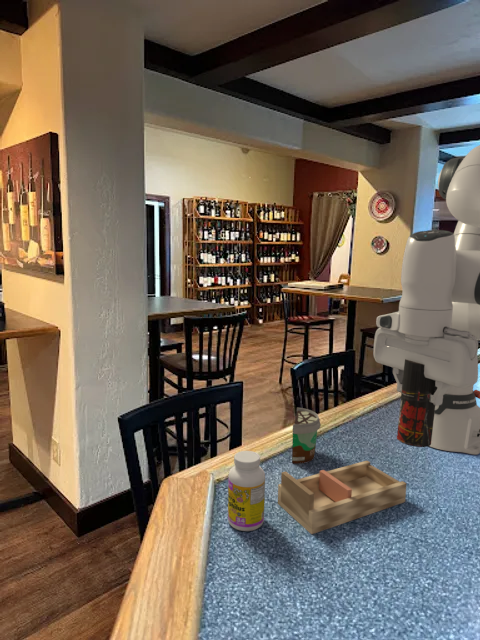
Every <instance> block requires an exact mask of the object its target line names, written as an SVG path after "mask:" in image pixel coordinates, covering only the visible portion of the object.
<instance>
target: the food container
mask: <svg viewBox="0 0 480 640" xmlns="http://www.w3.org/2000/svg"><path fill="white" fill-rule="evenodd" d="M321 425H322V424H321V419H320V417H319V415H318V413H316V412H315V411H313V410H311V409H307V408H303V407H296V416H295V418H294V423H293V424H292V441H291V442H292V446H291V447H292V449H291V451H292V454H291V464H296V465H298V464H299V465H300V464H306V463H310V462H312V461H313V460H314V459H315V454H316V447H317V445H316V444H317V436H318V430H320V428H321Z"/></svg>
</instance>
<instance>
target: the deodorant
mask: <svg viewBox="0 0 480 640" xmlns="http://www.w3.org/2000/svg"><path fill="white" fill-rule="evenodd" d="M424 366H425V365H424V364H420V363H417V362H413V361H410V360H406V359H405V364H404V372H403V382H402V392H400V393H401V394H400V402H399V404H400V405H399V411H398V413H399V414H398V421H397V422H398V424H397V432H396V433H397V434H396V439H397V441H399V442H400V443H402V444H404V445H406V446H411V447H414V448H415V447H416V448H426V447H430V445H431V440H432V431H433V422H434V413H435V405H434V404H431V403H429V399H430V398H429V394H432V393H435V392H436V390H437V387H436V386H435V382H436V381H435V380H432V379H429V378H426V377H425V375H424Z"/></svg>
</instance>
